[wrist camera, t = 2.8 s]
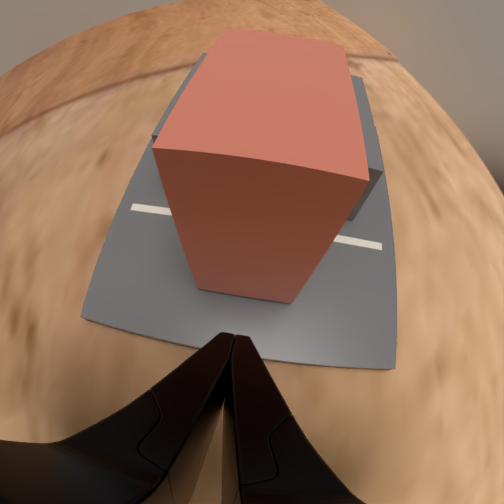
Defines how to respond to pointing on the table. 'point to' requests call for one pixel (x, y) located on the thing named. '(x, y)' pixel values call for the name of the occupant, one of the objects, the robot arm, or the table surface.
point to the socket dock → (245, 308)
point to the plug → (262, 162)
